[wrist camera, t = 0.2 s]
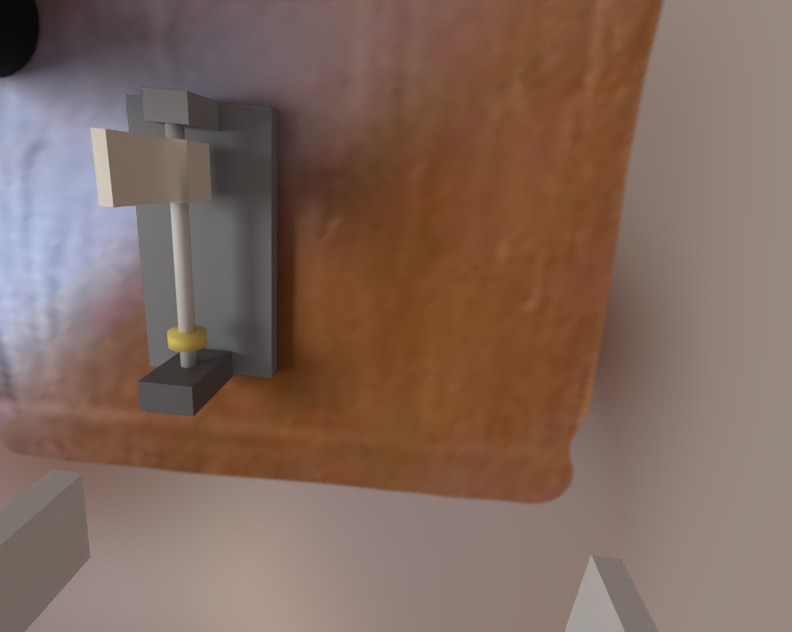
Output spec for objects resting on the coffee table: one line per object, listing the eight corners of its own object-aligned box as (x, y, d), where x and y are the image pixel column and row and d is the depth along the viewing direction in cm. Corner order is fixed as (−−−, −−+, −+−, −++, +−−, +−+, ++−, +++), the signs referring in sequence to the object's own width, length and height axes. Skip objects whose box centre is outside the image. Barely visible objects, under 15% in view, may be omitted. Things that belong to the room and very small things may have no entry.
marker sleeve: (165, 139, 32) (68, 125, 23) (209, 143, 32) (127, 130, 23) (169, 197, 33) (78, 204, 25) (211, 200, 33) (134, 209, 24)
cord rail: (138, 97, 35) (50, 73, 26) (277, 109, 34) (231, 88, 26) (159, 360, 41) (94, 405, 33) (276, 373, 41) (240, 421, 33)
